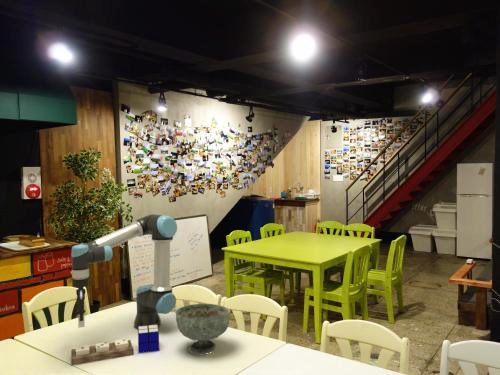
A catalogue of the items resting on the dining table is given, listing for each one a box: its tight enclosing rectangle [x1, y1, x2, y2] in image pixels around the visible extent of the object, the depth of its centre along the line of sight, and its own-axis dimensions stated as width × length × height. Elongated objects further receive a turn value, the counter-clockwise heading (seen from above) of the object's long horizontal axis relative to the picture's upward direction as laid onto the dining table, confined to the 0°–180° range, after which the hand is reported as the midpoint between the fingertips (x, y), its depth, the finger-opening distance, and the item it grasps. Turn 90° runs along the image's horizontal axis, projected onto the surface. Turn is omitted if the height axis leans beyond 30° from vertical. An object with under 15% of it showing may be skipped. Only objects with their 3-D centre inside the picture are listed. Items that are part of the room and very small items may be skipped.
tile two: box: [114, 338, 129, 350], centre depth 212 cm, size 6×6×3 cm
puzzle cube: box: [137, 325, 160, 354], centre depth 216 cm, size 10×10×10 cm
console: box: [70, 339, 135, 366], centre depth 208 cm, size 28×12×3 cm, turn 113°
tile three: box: [94, 341, 110, 353], centre depth 208 cm, size 6×6×3 cm
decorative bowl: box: [175, 303, 231, 355], centre depth 214 cm, size 26×26×20 cm
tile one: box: [75, 344, 90, 356], centre depth 205 cm, size 6×6×3 cm
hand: (81, 326), depth 204 cm, fingers closed
